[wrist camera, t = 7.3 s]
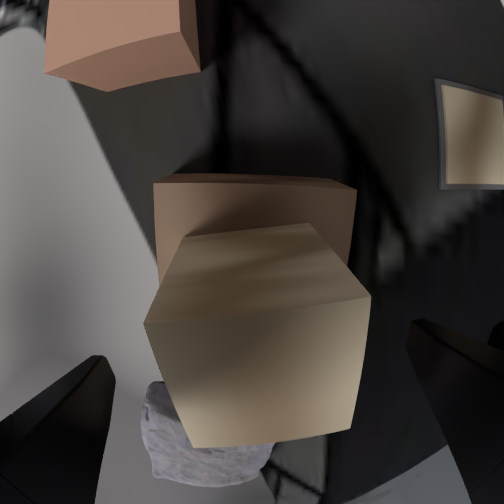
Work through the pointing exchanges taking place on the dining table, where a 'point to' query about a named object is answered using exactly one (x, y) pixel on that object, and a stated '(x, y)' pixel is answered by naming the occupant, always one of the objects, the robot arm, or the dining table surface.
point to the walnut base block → (249, 208)
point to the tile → (469, 137)
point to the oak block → (259, 336)
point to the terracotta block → (121, 41)
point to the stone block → (184, 455)
